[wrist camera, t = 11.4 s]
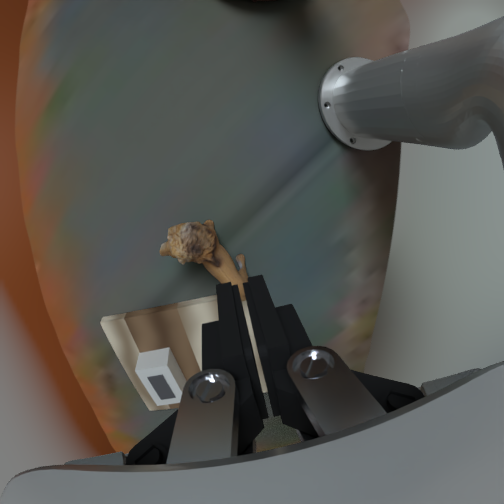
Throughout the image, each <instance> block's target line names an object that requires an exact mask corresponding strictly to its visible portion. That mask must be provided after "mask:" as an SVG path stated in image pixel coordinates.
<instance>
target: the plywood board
mask: <svg viewBox="0 0 504 504" xmlns="http://www.w3.org/2000/svg"><path fill="white" fill-rule="evenodd" d="M242 305H243V309H244V314H245V318H246V322H247V326H248V330H249V335H250V339H251V343H252V347H253V352H254V356H255V361H256V365H257V369H258V374H259V378H260V383H261V387H262V391H263V393H264V392H268V391H267V387H266V382H265V378H264V374H263V370H262V366H261V362H260V358H259V354H258V350H257V346H256V341H255V337H254V333H253V328H252V324H251V319H250V315H249V311H248V306H247V302H246V300H245V301H242ZM218 320H219V318H218V305H217V295H213V296H208V297H203V298H198V299H194V300H189V301H184V302H179V303H174V304H169V305H164V306H159V307H154V308H149V309H144V310H139V311H133V312H128V313H123V314H117V315H112V316H106V317H103V318H102V320H101V322H100V323H101V325H102V328H103V330H104V332H105V334H106V336H107V338H108V339H109V341H110V343H111V345H112V347H113V349H114V351H115V353H116V355H117V357H118V358H119V360H120V362H121V364H122V366H123V367H124V369H125V371H126V373H127V374H128V376H129V378H130V380H131V381H132V383H133V385H134V386H135V388H136V390H137V391H138V393H139V394H140V396H141V398H142V399H143V401H144V402H145V404H146V406H147V407H148V409H149V410H150V411H153V410H163V409H171V408H179V405H180V403H175V404H168V405H161V406H157V405H156V403H155V402H154V400H153V399H152V397H151V396H150V394H149V393H148V391H147V389H146V388H145V386H144V385H143V383H142V382H141V380H140V378H139V377H138V375H137V374H136V372H135V368H136V364H137V360H138V356H139V353H142V352H148V351H153V350H158V349H163V348H168V347H170V349H171V351H172V353H173V355H174V357H175V359H176V361H177V363H178V365H179V367H180V369H181V371H182V373H183V375H184V377H185V379H186V381H188V380H189V379H190V377H192V376H193V375H195V374H196V373H198V372H201V371H202V324H203V323H208V322H213V321H218Z"/></svg>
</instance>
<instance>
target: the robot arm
mask: <svg viewBox="0 0 504 504" xmlns="http://www.w3.org/2000/svg"><path fill="white" fill-rule="evenodd" d="M338 68H339V69H340V71H339V70H338ZM318 103H319V109H320V113H321V116H322V119H323V120H324V122H325V124H326V126H327V128H328V129H329V130H330V132H331V133H332V134H333V135H334V136H335V137H336V138H337V139H338V140H339V141H341V142H342V143H344V144H345V145H347V146H350V147H352V148H355V149H360V150H368V151H369V150H377V149H380V148H383V147H385V146H386V145H388V144H390V143H391V142H392V141H397V142H406V143H414V144H421V145H428V146H435V147H442V148H448V149H466V148H470V147H473V146H475V145H477V144H478V143H480V142H481V141H482V140H484V139H485V138H486V137H487V136H488V135H489V134H490V132H491V131H492V132H493V134H494V136H495V139H496V142H497V146H498V149H499V154H500V157H501V159H502V163H503V168H504V16H503V17H501V18H498V19H496V20H493V21H491V22H489V23H487V24H484V25H482V26H480V27H477V28H475V29H473V30H470V31H468V32H465V33H462V34H459V35H457V36H454V37H450V38H447V39H444V40H440V41H437V42H434V43H430V44H427V45H423V46H420V47H417V48H413V49H410V50H406V51H403V52H400V53H397V54H394V55H391V56H388V57H385V58H382V59H379V60H376V61H372V60H369V59H366V58H360V57H354V58H348V59H344V60H341V61H339V62H338V63H336V64H334V65H333V66H332V67H330V68H329V70H328V71H327V72H326V73H325V74H324V76H323V78H322V80H321V83H320V87H319V92H318ZM324 104H326V108H325V107H324ZM350 139H351V142H350ZM247 279H248V282H245V283H242V284H243V288H244V293H245V297H246V302H247V306H248V311H249V315H250V319H251V324H252V328H253V333H254V337H255V341H256V346H257V350H258V354H259V358H260V362H261V366H262V370H263V374H264V378H265V382H266V387H267V391H268V395H269V399H270V403H271V407H272V410H273V414H274V417H275V416H279V415H281V419H282V423H283V424H285V425H288V426H290V427H292V428H295V429H296V431H297V434H298V436H299V438H300V440H301V443H297V444H293V445H289V446H285V447H281V448H276V449H272V450H267V451H262V452H257V453H256V441H255V438H256V436H257V435H258V434H259V433H260V432H261V431H262V429H263V428H264V424H263V420H262V419H266V418H269V417H268V413H267V408H266V404H265V400H264V396H263V391H262V387H261V383H260V378H259V374H258V369H257V365H256V361H255V356H254V352H253V347H252V343H251V339H250V335H249V330H248V326H247V322H246V318H245V314H244V309H243V305H242V301H241V296H240V292H239V288H238V284H236V285H232V283H231V282H227V283H222V284H218V285H216V291H217V305H218V318H219V320H218V321H213V322H208V323H203V324H202V371H201V372H198V373H196V374H195V375H193V376H192V377H190V379H189V380H188V381H187V382H186V383H185V386H184V388H183V392H182V396H181V400H180V405H179V409H178V410H177V411H176V412H174V413H173V414H172V415H171V416H170V417H169V418H167V419H166V420H165V421H164V422H163V423H162V424H160V425H159V426H158V427H157V428H156V429H155V430H153V431H152V432H151V433H150V434H149V435H147V436H146V437H145V438H144V439H143V440H141V441H140V442H139V443H138V444H136V445H135V446H134V447H133V448H132V449H131V450H130V452H129V454H124V453H123V452H117V453H112V454H107V455H102V456H97V457H92V458H85V459H79V460H72V461H69V462H66V463H65V464H64V465H52V466H43V467H38V468H34V469H30V470H26V471H24V472H21V473H19V474H17V475H15V476H14V477H13V478H12V479H11V480H10V481H9V482H8V484H7V485H6V487H5V489H4V491H3V493H2V495H1V498H0V504H504V361H502V362H500V363H497V364H494V365H491V366H488V367H486V368H483V369H479V368H477V369H471V370H468V371H465V372H461V373H458V374H455V375H451V376H447V377H444V378H440V379H436V380H432V381H428V382H424V383H422V385H421V387H418V388H417V387H415V386H413V385H410V384H407V383H402V382H398V381H394V380H389V379H385V378H381V377H377V376H372V375H369V374H365V373H361V372H357V371H353V370H350V369H349V367H348V366H347V365H346V364H345V363H344V361H343V360H342V359H341V358H340V357H339V355H338V354H337V353H336V352H334V351H333V350H332V349H329V348H327V347H322V346H312V344H311V342H310V340H309V338H308V336H307V334H306V331H305V329H304V327H303V325H302V323H301V321H300V319H299V317H298V315H297V313H296V311H295V309H294V307H293V305H292V304H289V305H285V306H280V307H276V308H275V307H274V304H273V302H272V299H271V296H270V294H269V291H268V289H267V286H266V283H265V281H264V278H263V276H262V275H258V276H254V277H249V278H247Z"/></svg>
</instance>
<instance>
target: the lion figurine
mask: <svg viewBox="0 0 504 504" xmlns="http://www.w3.org/2000/svg"><path fill="white" fill-rule="evenodd" d="M167 238H168V241H167V242H166V243H163V244H162V245H161V249H160V254H161V255H162V256H169V255H170V256H172V257H173V258H177V259H178V261H179V262H180V263H181V264H183V265H184V264H185V262H191V261H192V262H197V263H198V264H200V263H203V265H204V266H205V268H206V269H207V270H208V271H209V272H210V273H211V274H212V275H213V276H214V277H215V278H216V279H218V280H219V281H220V282H221V284H222V283H227V282H231V283H232V285H236V284H238V288H239V292H240V296H241V301H245V300H246V297H245V293H244V288H243V284H242V283H245V282H248V279H247V278H248V276H247V273H246V267H245V257H244V255H243V254H239V255H237V256H236V261H237V263H238V264H239V267H240V270H239V272H238V271H237V269H236V267H235V265H234V262H233V260H232V258H231V257H230V255H229V254H228V252H227V251H226V250H225V248H224V247H223V246H222V245H220V244H219V240H218V237H217V235H216V232H215V230H214V223H213V221H212V220H207V221H205V223H204V224H200V222H191V223H189V222H188V223H180V224H178V225H176V226H172V227H171V228H169V229H168V236H167Z"/></svg>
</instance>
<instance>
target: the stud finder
mask: <svg viewBox="0 0 504 504" xmlns="http://www.w3.org/2000/svg"><path fill="white" fill-rule="evenodd" d="M135 372H136V374H137V375H138V377H139V378H140V380H141V382H142V383H143V385H144V386H145V388H146V389H147V391H148V393H149V394H150V396H151V397H152V399H153V400H154V402H155V403H156V405H157V406H161V405H168V404H175V403H180V400H181V396H182V392H183V388H184V386H185V383H186V382H187V381H186V379H185V377H184V375H183V373H182V371H181V369H180V367H179V365H178V363H177V361H176V359H175V357H174V355H173V353H172V351H171V349H170V347H168V348H163V349H158V350H153V351H148V352H142V353H139V356H138V360H137V364H136V368H135Z"/></svg>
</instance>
